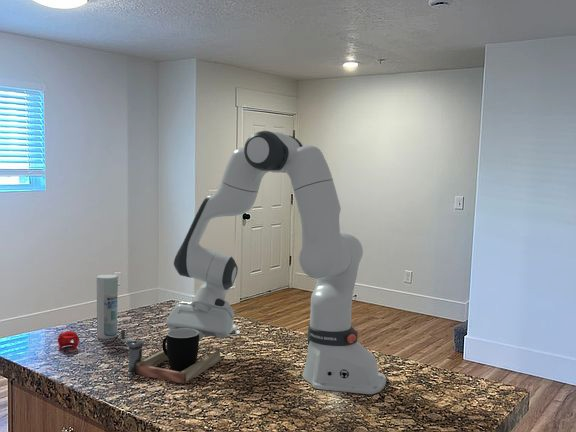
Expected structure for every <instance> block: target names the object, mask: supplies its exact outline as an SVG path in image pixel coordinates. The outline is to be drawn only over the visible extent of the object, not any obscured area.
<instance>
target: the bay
mask: <svg viewBox="0 0 576 432" xmlns="http://www.w3.org/2000/svg"><path fill="white" fill-rule="evenodd" d="M166 360H167V361H168V357H167V356H166V355H165V353H164V351H163V349H161V350H159V351H158V352H156V353H155V354H153V355H149V357H146V358H145V359H142V361H140V362H138V363H136V372H135V373H136V375H140V376H143V377H148V378H154V379H159V380H165V381H169V382H173V383H178V384H179V383H180V384H183V385H184V384H186V383H187V382H189V381H191V380H192V379H194V378H195V377H197V376H199V375H200V374H202V373H203V372H205V371H206V369H207V370H208V369H210V368H212V367H213V366H214V365H217V364H218V363H220V361H221V350H215V351H214V352H212V353H211V354H209V355H207V356H205V357H203V358H201V359H200V360H198V361H196V363H195V364H193V365H192V366H190V367H188V368H186V369H185V370H183V371H181V372H178V371H173V370H171V369H167V368H163V367H157V366H159V365H161V364H163V363H165V362H166ZM164 361H165V362H164ZM162 362H163V363H162ZM160 363H161V364H160ZM158 364H159V365H158ZM156 365H157V366H156ZM209 367H210V368H209ZM198 374H199V375H198Z"/></svg>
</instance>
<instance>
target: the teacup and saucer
mask: <svg viewBox="0 0 576 432" xmlns="http://www.w3.org/2000/svg"><path fill="white" fill-rule="evenodd" d="M233 332H236V333H233ZM231 333H233V334H231ZM240 333H241V331H240V330H239V329H238V326H237V325H236V324H234V323H233V324H232V328H231V331H230V333H229V336H230V337H231V336H237V335H239V334H240ZM229 336H228V337H229Z"/></svg>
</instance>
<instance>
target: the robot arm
mask: <svg viewBox="0 0 576 432" xmlns="http://www.w3.org/2000/svg"><path fill="white" fill-rule="evenodd" d="M330 170H331V169H330V167H329V164H328V163H327V160H326V158H325V156H324V154H323V152H322V151H321V149H320V148H319V147H317V146H314V145H303V143H302V142H301V141H300V140H299V139H297V138H296V137H294V136H292V135H287V134H285V133H283V132H279V131H269V130H262V131H257V132H254V133H253V134H251V135H250V136H248V138H247V139H246V141H245V144H244V147H241V148H236V149H235V150H234V151H233V152H232V153H231V155H230V158H229V159H228V161H227V164H226V165H225V169H224V172H223V174H222V178H221V182H220V185H219V187H218V188H217V190H215V192H213V193H211V194H208V195H207V196H205V198H204V199H203V201H202V203H201V204H200V207H199V208H198V210H197V212H196V214H195V217H194V218H193V221H192V222H191V225H190V227H189V229H188V231H187V233H186V235H185V237H184V239H183V241H182V244H181V246H180V247H179V249H178V250H177V252H176V253H175V255H174V259H173V266H174V269H175V270H176V272H177V273H178V275H179V276H182V277H186V278H190V279H191V278H193V279H195V280H198V281H201V285H200V287H199V288H198V289H197V291H196V293H195V295H194V297H193V300H192V301H191V302H187V301H180V302H178V303H176V304H175V305H174V307H173V309H172V310H171V312H170V313H169V315H168V316H167V318H166V319H165V323H166V326H167V327H168V329H169V331H170V330H173V329H180V328H189V329H195V330H197V331H199V342H200V341H201V340H202V339H203V338H204V336H207V337H213V338H218V339H219V338H220V339H226V338H227V337H229V335H230V334H231V333H230V331H231V328H232V324H234V321H233V320H234V319H233V318H234V317H235V315H236V314H235V311H234V309H233V307H232V306H231V304H230V303H229V302H228V301H227V300H225V298H226V295H227V293H229V291H230V289H231V288H232V287H233V285H234V282H235V281H236V278H237V275H238V272H239V271H238V270H239V269H238V265H237V262H236V260H235V259H234V257H232V256H231V255H228V254H225V253H222V252H219V251H216V250H212V249H209V248H206V247H204V246H201V244H200V241H201V239H202V238H203V236H204V233H205V232H206V228H207V226H208V224H209V222H210V221H211V220H212V219H215V218H221V217H222V218H223V217H234V216H235V217H236V216H240V215H242V214H245V213H247V212H248V211H250V210H251V209H252V208H253V206H254V204H255V202H256V200H257V197H258V193H259V189H260V187H261V183H262V180H263V178H264V176H265V175H266V174H267V173H269V172H271V173H286V174H287V176H288V177H289V179H290V183H291V186H292V190H293V193H294V194H293V195H294V197H295V201H296V206H297V209H298V212H299V217H300V225H301V237H302V238H301V240H302V241H301V243H302V244H301V249H300V250H301V251H300V253H299V256H298V257H299V265H300V268H301V270H302V272H303V273H304V274H305V275H306V276H307V277H310V278H312V279H316V283H315V286H314V289H313V291H312V293H311V296H310V309H309V310H310V313H309V324H308V327H307V328H308V329H307V346H308V347H307V348H308V349H307V355H306V360H305V365H304V369H303V371H302V374H301V375H302V379H304V380H305V381H306V382H308V383H309V384H311V385H312V387H313V388H314V389H316V390H323V391H334V392H343V393H353V394H365V395H374V394H377V393H379V392H381V391H382V390H383V389H384V388H385V387H386V384H387V377H386V376H385V373H382V372H380V371H379V367H378V363H377V359H376V357H375V355H374V354H373V353H371V352H370V351H369V350H368V349H367V348H366V347H364V346H363V345H362V344H361V343H360V342H359V341H358V338H359V329H355V328H354V327H353V326H352V307H353V305H352V303H353V296H354V295H353V294H354V289H355V285H356V281H357V276H358V271H359V265H360V262H361V261H362V258H363V254H364V253H363V252H364V251H363V245H362V243H361V242H360V240H359V239H358V238H357V237H355V236H354V235H351V234H349V233H346V232H341V227H340V213H341V211H342V210H341V204H340V200H339V197H338V193H337V190H336V187H335V182H334V180H333V179H334V178H333V175H332V172H331V171H330Z"/></svg>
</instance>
